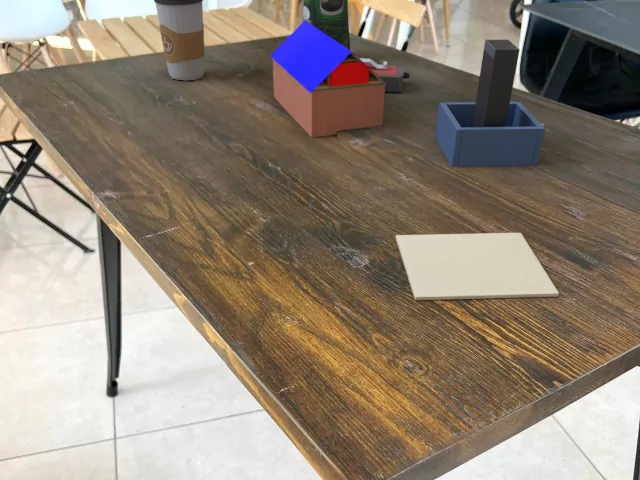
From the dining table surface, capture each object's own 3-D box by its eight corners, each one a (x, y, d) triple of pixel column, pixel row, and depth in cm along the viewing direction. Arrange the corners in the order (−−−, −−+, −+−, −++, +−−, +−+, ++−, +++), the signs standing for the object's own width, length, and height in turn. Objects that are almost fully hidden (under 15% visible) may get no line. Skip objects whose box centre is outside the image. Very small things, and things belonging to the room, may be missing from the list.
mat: (520, 235, 72) (520, 232, 72) (558, 296, 62) (559, 293, 62) (395, 238, 71) (395, 235, 71) (414, 300, 62) (415, 297, 61)
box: (512, 139, 95) (520, 101, 92) (536, 169, 87) (545, 128, 83) (434, 140, 94) (439, 102, 91) (451, 170, 86) (456, 129, 83)
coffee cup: (155, 75, 119) (142, -16, 110) (193, 67, 123) (184, -21, 114) (180, 86, 114) (169, -8, 105) (219, 77, 118) (211, -14, 109)
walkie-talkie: (409, 79, 119) (301, 73, 121) (411, 54, 116) (301, 48, 118) (408, 94, 112) (293, 88, 114) (410, 67, 109) (293, 62, 111)
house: (337, 90, 113) (339, 18, 106) (385, 129, 98) (391, 48, 91) (271, 97, 110) (269, 22, 103) (310, 138, 95) (310, 55, 88)
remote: (491, 143, 92) (509, 39, 84) (501, 157, 88) (521, 49, 80) (468, 143, 92) (484, 39, 84) (477, 157, 88) (495, 49, 80)
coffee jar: (340, 52, 133) (342, -51, 122) (354, 62, 127) (359, -45, 116) (295, 56, 130) (294, -49, 119) (308, 66, 124) (308, -43, 113)
